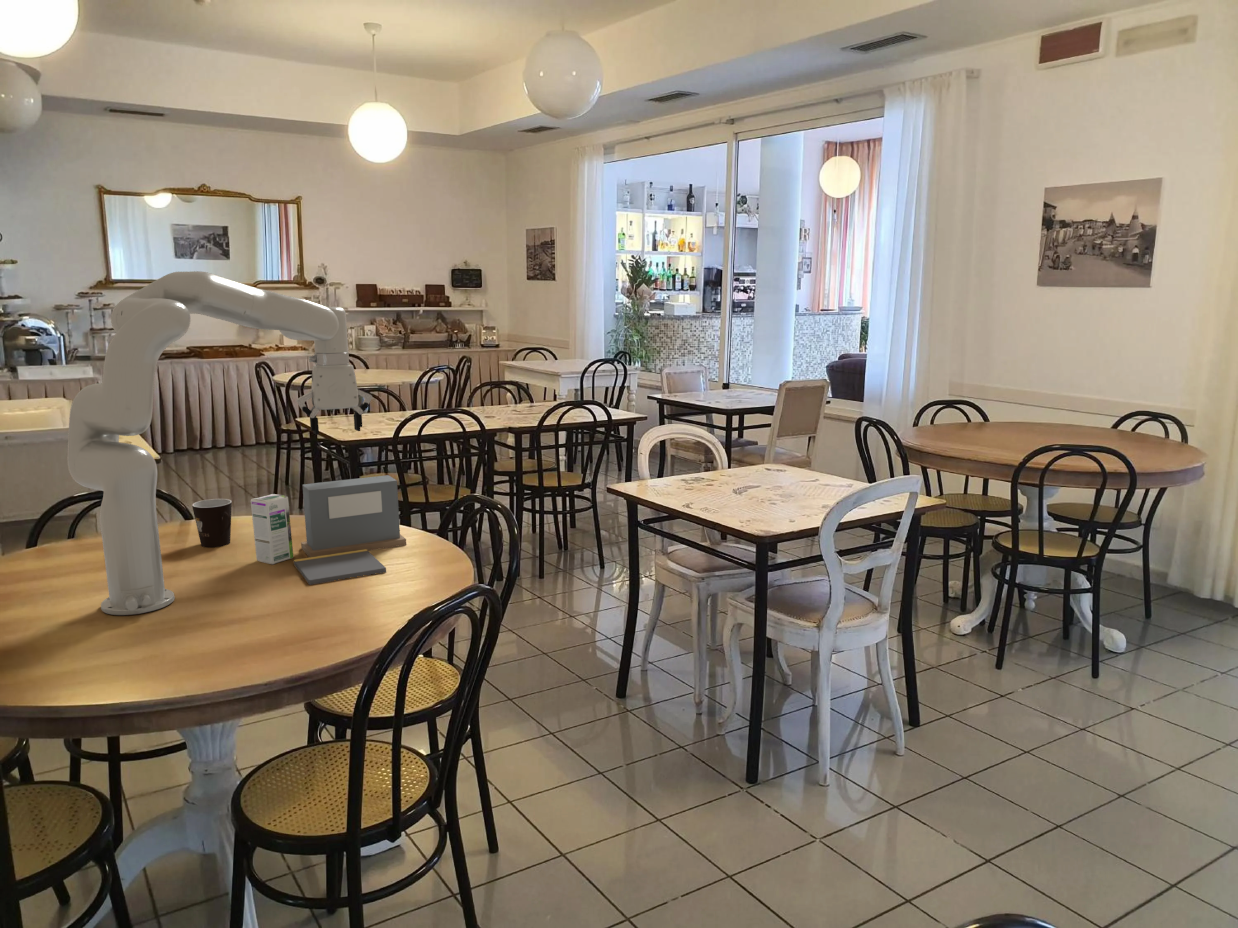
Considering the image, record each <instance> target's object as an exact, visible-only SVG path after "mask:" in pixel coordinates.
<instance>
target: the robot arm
mask: <svg viewBox="0 0 1238 928" xmlns="http://www.w3.org/2000/svg"><path fill="white" fill-rule="evenodd" d="M191 314H194V315H195V314H196V315H201V316H206V317H209V318H213V319H217V320H221V321H225V322H228V323H232V324H236V325H239V326H242V327H246V328H251V329H256V330H257V329H258V330H267V331H268V330H269V331H270V330H273V331H279V333H281V335H282V336H284V337H285V338H287V339H290V340H294V341H313V343H314V345H313V346H314V353H313V355H309V356H308V362H310V363H311V362H312V363H314V364H315V366H313V367H312V372H311V390H309V392H307V393H305V394H304V395H302V396H300V397H297V399H296V403H297V404H298V407H299V408H300V409H301V411H302V412H303V413H304V414H306V415H307V416H308V417H309V422H310V423H309V424H310V431H311V432H313V434H314V435H315V436H316V435H320V431H319V430H320V428H319V418H318V417H317V415H318V413H319V412H320V411H321V410H323V411H325V410H327V411H328V410H342V409H352V410H353V411H354V413H353V427H354V430H355V431H357V432H361V428H362V427H363V414H364V412H365V411H366V410H367V409H368V408H369V406H370V404H371V401H372V399H373V395H372V394H370V393H368V392H366V391H363V390H360V389H358V384H357V376H356V373H355V372H356V371H355V369H354V365H353V364H350V356H349V355H350V354H349V341H348V340H349V339H348V325H347V323H348V321H347V313H346V311H345V309H344V308H343V307H341V306H325V305H321V304H319V303H316V302H312V301H309V300H306V299H302V298H298V297H295V296H291V295H286V294H283V293H282V294H281V293H278V292H275V291H271V290H266V289H262V288H258V287H256V286H255V287H254V286H251V285H248V284H246V283H243V282H240V281H236V280H232V279H230V278H226V277H223V276H221V275H217V274H214V273H212V272H206V271H201V270H200V271H197V270H196V271H195V270H194V271H173V272H170V273H167V274H166V275H163V276H161V277H159V278H158V279H155V280H154V281H152V282H151V283H149V284H147V285H145V286H144V287H141V288H140V289H138V290H136V291H135V292H133V293H131V294H129V295H128V296H126V297H124V298H123V299H121V300H120V301H119V302H117V304H116V305H115V306H114V308H113V309H112V311H111V315H110V323H111V326H112V328H113V330H114V332H115V333H114V335H113V337H112V339H111V340H110V342H109V344H108V346H107V349H106V352H105V355H104V356H105V357H104V364H103V371H102V379H101V383H100V382H99V383H93V384H88V385H86V386H84V387H83V388H82V389H80V391H78V393H77V394H76V395H75V396H74V398H73V400H72V403H71V406H70V411H69V420H68V434H67V435H68V437H67V438H68V440H67V454H66V455H67V457H66V458H67V461H66V462H67V467H68V469H67V470H68V472H69V474H70V476H71V478H72V480H73V481H75V483H77V484H78V485H80V486H81V487H85V488H87V489H91V490H96V491H102V492H103V495H102V496H103V497H102V500H101V504H100V509H99V524H100V532H101V539H102V548H103V557H104V563H105V564H104V565H105V572H106V574H105V575H106V580H107V581H106V582H107V590H108V596H109V597H107V598H105V599H104V600H102V602H101V604H100V609H101V612H102V613H105V614H107V615H114V616H129V615H130V616H131V615H140V614H144V613H150V612H153V611H157V610H160V609H162V608H165V607H167V606H168V605H170V604H172V603H173V602H174V601H175V593H174V592H173V591H172V590H170V589H168V588H165V579H164V578H165V577H164V570H163V561H162V551H161V550H162V549H161V541H160V533H159V531H160V530H159V523H158V516H157V515H158V514H157V505H156V503H157V502H156V501H157V500H156V499H157V496H156V494H157V482H158V464H157V462H156V460H155V457H153V455H152V454H151V453H150V452H149V451H148V450H146V449H145V448H143V447H142V446H139V445H136V444H132V443H127V442H119V441H120V436H122V437H123V436H124V437H134V436H135V437H136V436H138V435H141V434H143V433H144V432H146V431H147V430H148V429H149V427H150V425H151V423H152V419H153V410H154V409H153V408H154V395H155V394H154V392H155V377H156V369H157V363H158V361H159V359H160V357H161V355H162V353H163V352H164V351H165V350H166V349H167V348H168V347H170V345H171V344H173V343H175V342H176V341H178V340H180V339H182V338H183V337H184V335H185V336H186V333H187V332H188V330H189V329H190V325H191ZM359 396H360V397H362V398H363V399H364V400H363V402H362V403H361V404H360V405H359V403H360V402H359V401H360V399H359ZM310 399H311V404H312V407H311V408H308V407H307V405H306V404H305V402H307V401H308V400H310Z"/></svg>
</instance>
